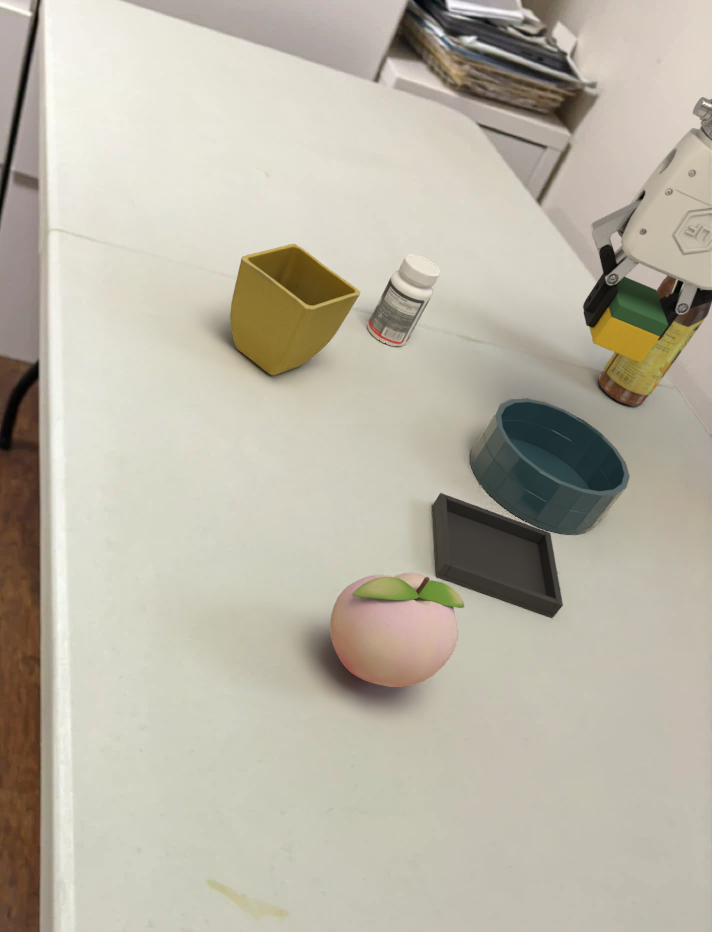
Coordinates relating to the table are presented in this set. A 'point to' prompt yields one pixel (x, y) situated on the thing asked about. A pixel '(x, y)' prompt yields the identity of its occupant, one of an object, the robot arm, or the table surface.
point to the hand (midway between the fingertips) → (616, 329)
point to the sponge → (631, 321)
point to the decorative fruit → (395, 628)
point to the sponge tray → (495, 555)
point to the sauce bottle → (651, 356)
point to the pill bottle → (403, 300)
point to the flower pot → (287, 307)
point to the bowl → (548, 466)
